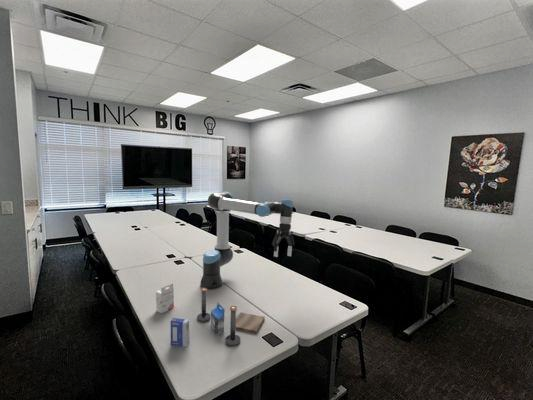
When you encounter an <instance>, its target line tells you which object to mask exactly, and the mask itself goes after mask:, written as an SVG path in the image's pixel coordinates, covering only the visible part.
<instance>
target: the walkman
mask: <svg viewBox="0 0 533 400" xmlns="http://www.w3.org/2000/svg"><path fill="white" fill-rule="evenodd" d="M189 344H190V319H187V318H177V317H173V318H172V319H171V320H170V345H171V346H177V347H185V348H187V347H188V346H189Z"/></svg>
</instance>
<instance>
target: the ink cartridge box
mask: <svg viewBox="0 0 533 400" xmlns="http://www.w3.org/2000/svg"><path fill="white" fill-rule="evenodd" d="M174 298H175V296H174V283H171V284H167V285H165V286H163V287H161V288H160V289H158V290H156V291H155V304H156V305H155V307H156V310H155V311H156V312H158V313H159V314H163V313H165V312H168V311H169V310H172V309H173V308H174V307H175V304H174V303H175V302H174V301H175V300H174Z"/></svg>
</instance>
